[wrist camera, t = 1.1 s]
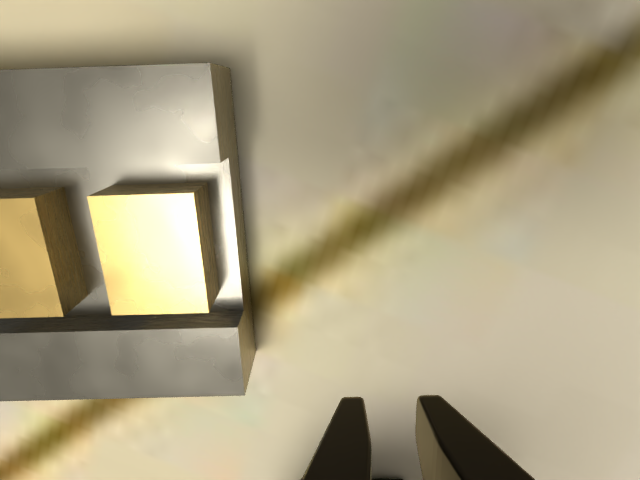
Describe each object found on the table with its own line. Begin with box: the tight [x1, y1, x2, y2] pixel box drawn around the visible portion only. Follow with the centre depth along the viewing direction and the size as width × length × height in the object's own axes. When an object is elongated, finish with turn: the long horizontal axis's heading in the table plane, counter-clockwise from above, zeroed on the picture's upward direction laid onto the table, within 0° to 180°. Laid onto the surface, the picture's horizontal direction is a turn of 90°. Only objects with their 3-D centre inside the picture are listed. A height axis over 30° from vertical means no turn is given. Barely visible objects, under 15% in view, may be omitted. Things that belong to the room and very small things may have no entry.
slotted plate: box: [0, 63, 256, 401], centre depth 19 cm, size 14×14×4 cm
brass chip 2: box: [87, 183, 220, 315], centre depth 18 cm, size 5×4×2 cm
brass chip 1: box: [0, 187, 88, 318], centre depth 18 cm, size 5×4×2 cm
